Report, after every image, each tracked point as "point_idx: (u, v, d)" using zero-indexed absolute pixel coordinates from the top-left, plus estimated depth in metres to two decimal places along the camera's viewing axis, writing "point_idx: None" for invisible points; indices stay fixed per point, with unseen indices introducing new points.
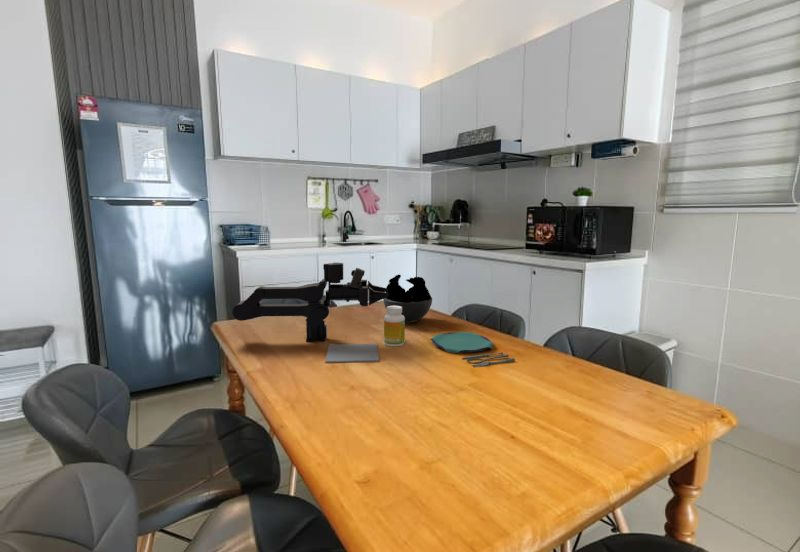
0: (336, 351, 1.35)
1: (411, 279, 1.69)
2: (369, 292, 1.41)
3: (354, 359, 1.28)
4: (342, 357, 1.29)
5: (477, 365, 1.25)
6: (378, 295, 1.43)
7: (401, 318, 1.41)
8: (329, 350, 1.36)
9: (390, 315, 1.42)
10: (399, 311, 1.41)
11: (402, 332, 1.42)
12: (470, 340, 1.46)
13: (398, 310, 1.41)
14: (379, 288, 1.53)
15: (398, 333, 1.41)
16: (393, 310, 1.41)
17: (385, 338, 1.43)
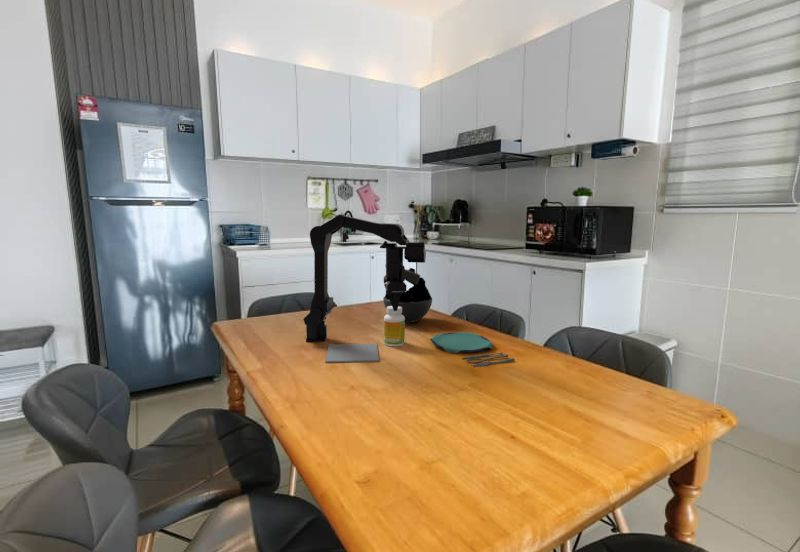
0: (336, 351, 1.35)
1: None
2: (401, 292, 1.34)
3: (354, 359, 1.28)
4: (342, 357, 1.29)
5: (477, 365, 1.25)
6: (395, 300, 1.37)
7: (401, 318, 1.41)
8: (329, 350, 1.36)
9: (390, 315, 1.42)
10: (399, 311, 1.41)
11: (402, 332, 1.42)
12: (469, 341, 1.46)
13: (398, 310, 1.41)
14: None
15: (398, 333, 1.41)
16: (393, 310, 1.41)
17: (385, 338, 1.43)
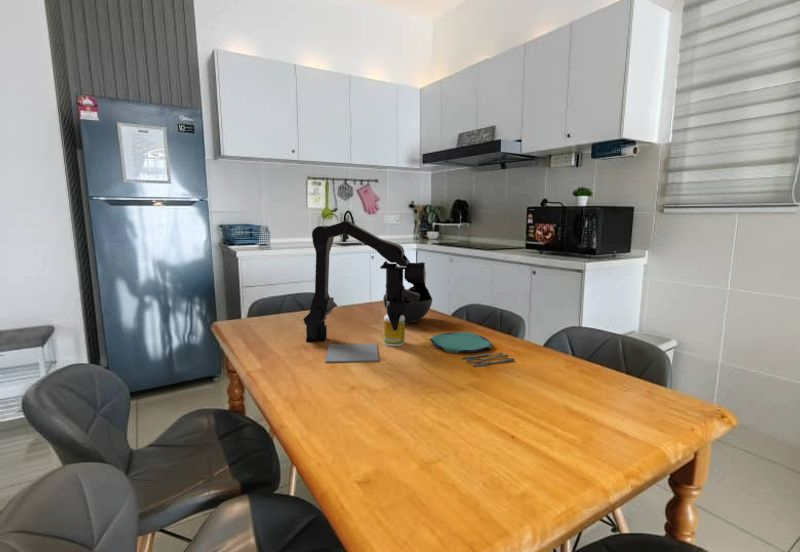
0: (336, 351, 1.35)
1: None
2: (400, 312, 1.36)
3: (354, 359, 1.28)
4: (342, 357, 1.29)
5: (477, 365, 1.25)
6: (395, 320, 1.39)
7: (401, 318, 1.41)
8: (329, 350, 1.36)
9: None
10: None
11: (402, 332, 1.42)
12: (469, 341, 1.46)
13: None
14: None
15: (398, 333, 1.41)
16: None
17: (385, 338, 1.43)
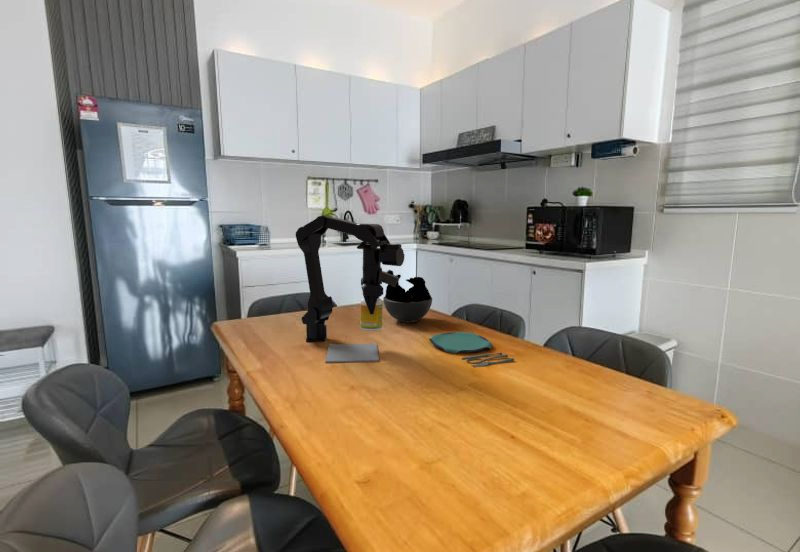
0: (336, 351, 1.35)
1: (411, 279, 1.69)
2: (377, 295, 1.30)
3: (354, 359, 1.28)
4: (342, 357, 1.29)
5: (477, 365, 1.25)
6: (372, 303, 1.32)
7: (378, 301, 1.35)
8: (329, 350, 1.36)
9: None
10: None
11: (379, 316, 1.36)
12: (468, 340, 1.46)
13: None
14: None
15: (375, 318, 1.35)
16: None
17: (361, 322, 1.36)
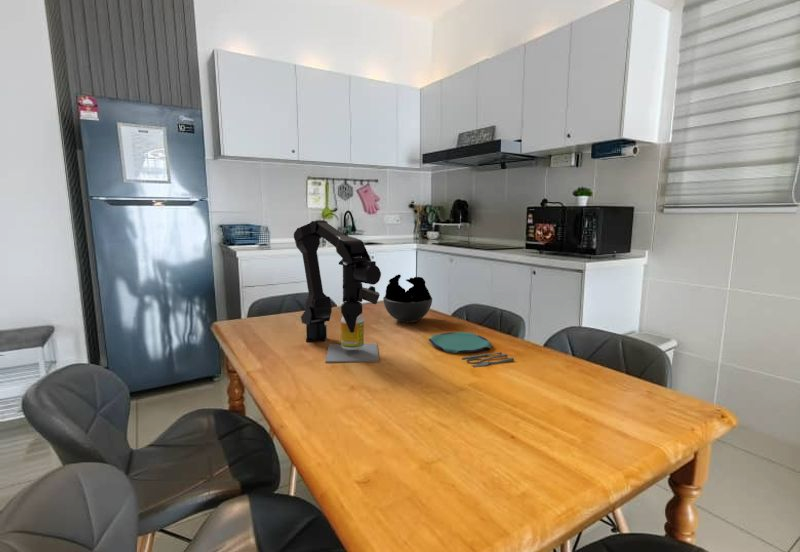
0: (336, 351, 1.35)
1: (411, 279, 1.69)
2: (356, 313, 1.26)
3: (354, 359, 1.28)
4: (342, 357, 1.29)
5: (477, 365, 1.25)
6: (352, 321, 1.28)
7: (359, 319, 1.31)
8: (329, 350, 1.36)
9: None
10: None
11: (360, 334, 1.32)
12: (468, 340, 1.46)
13: None
14: None
15: (355, 336, 1.31)
16: None
17: (342, 341, 1.32)
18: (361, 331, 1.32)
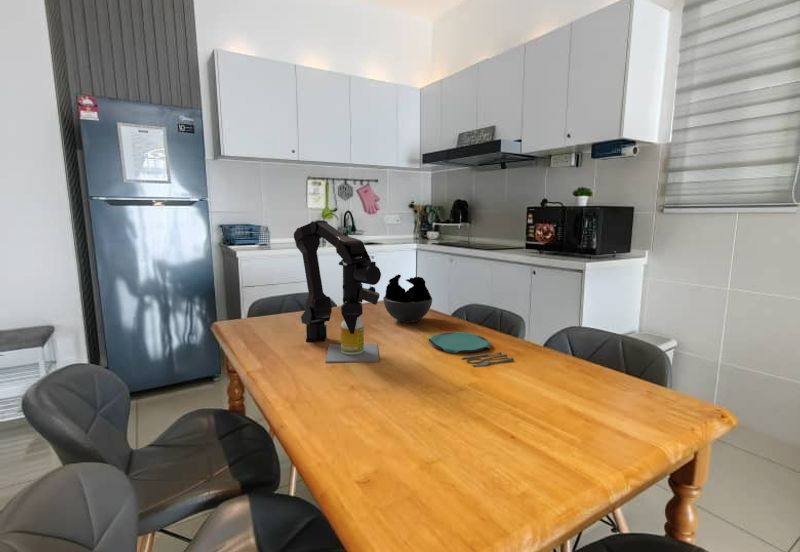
0: (336, 351, 1.35)
1: (411, 279, 1.69)
2: (357, 314, 1.25)
3: (354, 359, 1.28)
4: (342, 357, 1.29)
5: (477, 365, 1.25)
6: (352, 322, 1.27)
7: (359, 324, 1.31)
8: (329, 350, 1.36)
9: None
10: None
11: (360, 339, 1.32)
12: (467, 341, 1.46)
13: None
14: None
15: (355, 341, 1.31)
16: None
17: (342, 346, 1.32)
18: (361, 336, 1.32)
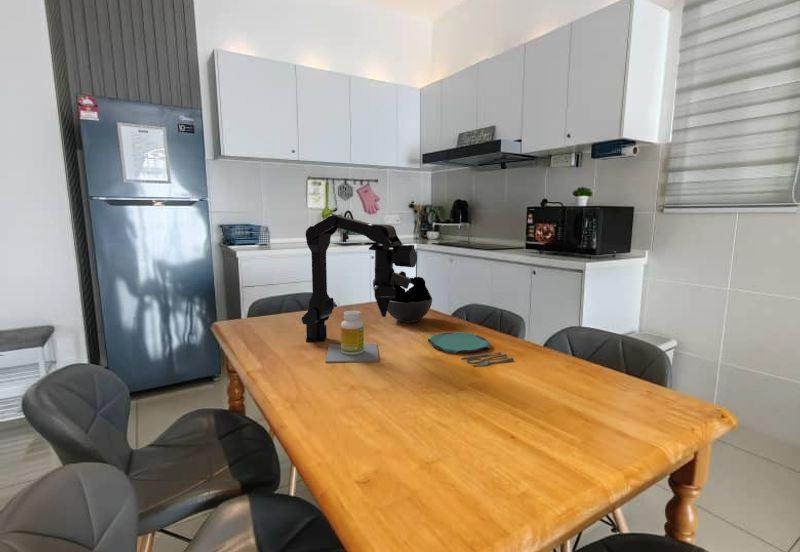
0: (336, 351, 1.35)
1: (411, 279, 1.69)
2: (389, 297, 1.27)
3: (354, 359, 1.28)
4: (342, 357, 1.29)
5: (477, 365, 1.25)
6: (384, 305, 1.30)
7: (359, 324, 1.31)
8: (329, 350, 1.36)
9: (347, 321, 1.31)
10: (357, 317, 1.31)
11: (360, 339, 1.32)
12: (466, 340, 1.46)
13: (355, 316, 1.31)
14: None
15: (355, 341, 1.31)
16: (350, 316, 1.30)
17: (342, 346, 1.33)
18: (361, 336, 1.32)
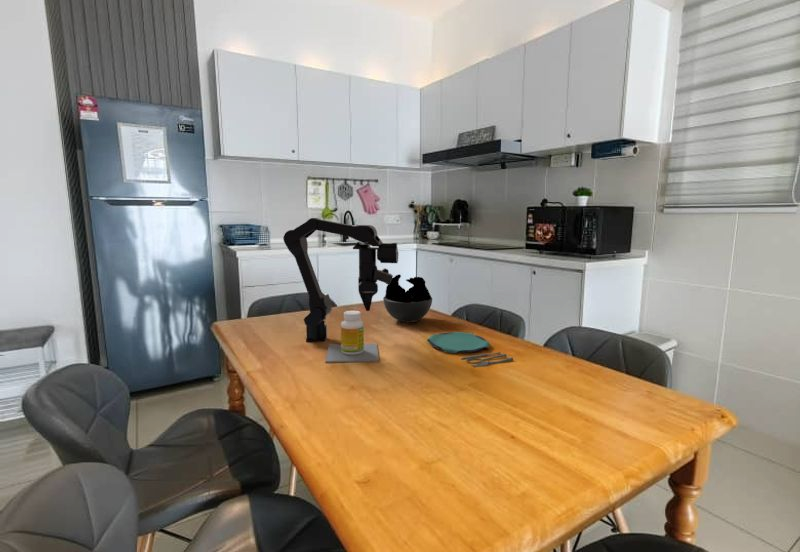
0: (336, 351, 1.35)
1: (411, 279, 1.69)
2: (372, 292, 1.37)
3: (354, 359, 1.28)
4: (342, 357, 1.29)
5: (477, 365, 1.25)
6: (368, 300, 1.39)
7: (359, 324, 1.31)
8: (329, 350, 1.36)
9: (347, 321, 1.31)
10: (357, 317, 1.31)
11: (360, 339, 1.32)
12: (466, 340, 1.46)
13: (355, 316, 1.31)
14: None
15: (355, 341, 1.31)
16: (350, 316, 1.30)
17: (342, 346, 1.33)
18: (361, 336, 1.32)
